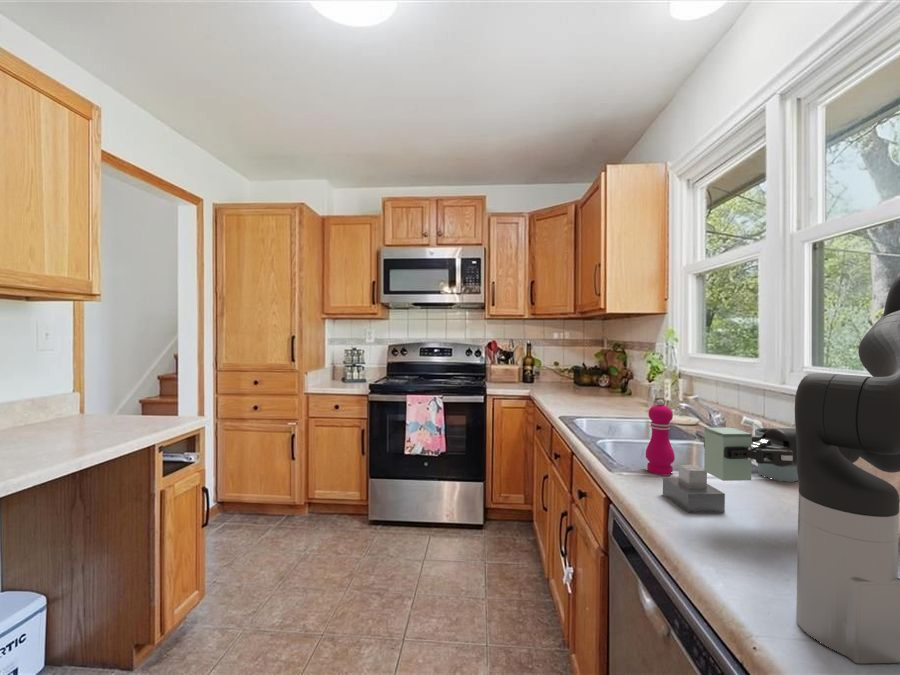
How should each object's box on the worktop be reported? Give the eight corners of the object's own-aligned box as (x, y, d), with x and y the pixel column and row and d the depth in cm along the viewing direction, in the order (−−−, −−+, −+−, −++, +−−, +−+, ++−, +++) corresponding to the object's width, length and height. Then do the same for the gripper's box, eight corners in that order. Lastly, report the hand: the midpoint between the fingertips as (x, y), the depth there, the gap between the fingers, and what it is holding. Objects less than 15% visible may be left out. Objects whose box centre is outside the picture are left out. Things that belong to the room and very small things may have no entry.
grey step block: (724, 512, 89) (725, 475, 89) (688, 512, 89) (688, 475, 89) (695, 494, 99) (696, 460, 99) (662, 494, 99) (663, 460, 99)
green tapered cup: (779, 484, 106) (780, 437, 106) (744, 471, 116) (745, 428, 116) (811, 481, 108) (812, 435, 108) (774, 468, 118) (775, 426, 118)
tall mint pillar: (751, 480, 80) (751, 434, 80) (722, 480, 80) (723, 434, 80) (730, 470, 86) (731, 427, 86) (704, 470, 86) (704, 427, 86)
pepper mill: (680, 474, 113) (681, 400, 113) (661, 477, 111) (661, 402, 110) (658, 466, 120) (659, 396, 120) (639, 469, 117) (640, 398, 117)
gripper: (768, 420, 91) (692, 421, 90) (831, 438, 76) (741, 439, 76) (768, 455, 91) (692, 456, 90) (830, 478, 76) (740, 480, 76)
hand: (715, 448), depth 83 cm, fingers closed on tall mint pillar, 5 cm apart
